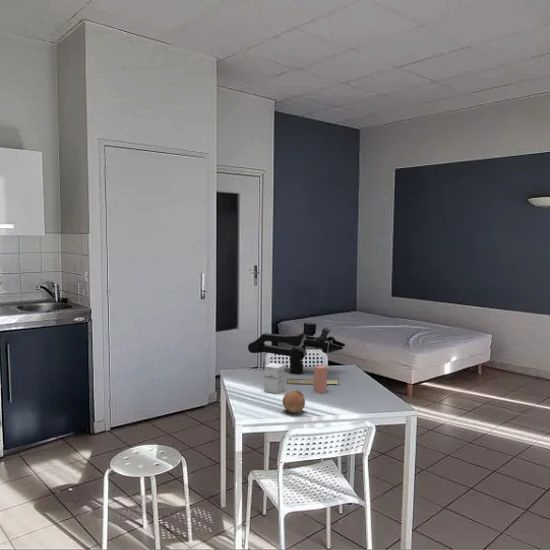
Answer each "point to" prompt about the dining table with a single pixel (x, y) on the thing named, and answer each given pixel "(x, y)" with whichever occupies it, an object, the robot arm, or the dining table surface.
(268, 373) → the supplement box
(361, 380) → the dining table surface
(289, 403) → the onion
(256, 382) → the dining table surface
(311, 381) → the price rail
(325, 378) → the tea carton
